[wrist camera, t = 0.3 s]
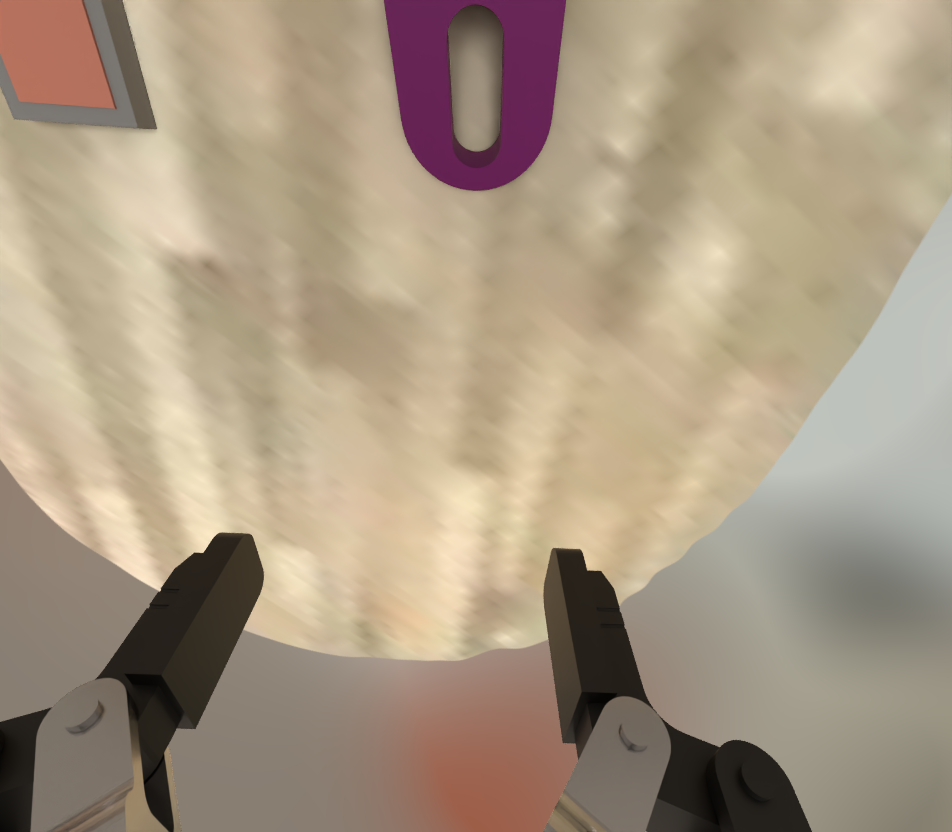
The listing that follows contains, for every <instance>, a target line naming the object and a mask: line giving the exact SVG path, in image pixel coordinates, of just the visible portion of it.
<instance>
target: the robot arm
mask: <svg viewBox="0 0 952 832" xmlns="http://www.w3.org/2000/svg"><path fill="white" fill-rule="evenodd" d="M263 580H264V571H263V567H262V564H261V561H260V558H259V555H258V551H257V548H256V545H255V542H254V539H253V537H252V535H251V534H244V533H218V534H217V535H216V536H215V537H214V538H213V539H212V541H211V542H210V544H209V545H208V547H207V548H206V550H205V551H204V553H193V554H192V555H191V556H190V557H188V558H187V559H186V560H185V561H184V562H182V563H181V564H180V565H179V566H178V567H176V568H175V569H174V570H173V572H172V573H171V575H170V576H169V578H168V579H167V580H166V582H165V583H164V585H163V586H162V587H161V591H160V592H158V593H157V595H156V596H155V597H154V599H153V600H152V602H151V603H150V607H149V608H147V609H146V610H145V612H144V613H143V615H142V616H141V617H140V619H139V620H138V622H137V623H136V624H135V626H134V627H133V629H132V630H131V632H130V633H129V634H128V636H127V637H126V639H125V640H124V642H123V643H122V644H121V646H120V647H119V649H118V650H117V652H116V653H115V654H114V656H113V657H112V659H111V660H110V662H109V663H108V664H107V666H106V667H105V669H104V670H103V671H102V672H101V674H100V675H99V676H98V677H97V678H96V679H95V680H93V681H90V682H87V683H85V684H83V685H81V686H79V687H77V688H75V689H74V690H72V691H71V692H69V693H68V694H66V695H65V696H64V697H63V698H61V699H60V700H59V701H58V702H57V703H56V704H55V705H54V706H53V707H52V708H49V709H45V710H42V711H38V712H35V713H31V714H28V715H24V716H20V717H17V718H13V719H10V720H6V721H2V722H0V832H182V830H181V824H180V817H179V810H178V804H177V797H176V790H175V783H174V776H173V770H172V763H171V756H170V751H169V747H168V744H169V742H170V741H171V739H172V737H173V735H174V733H175V731H176V729H177V728H181V729H196V726H197V725H198V723H199V720H200V718H201V716H202V714H203V712H204V710H205V708H206V706H207V704H208V702H209V699H210V697H211V695H212V693H213V691H214V689H215V687H216V685H217V683H218V681H219V679H220V676H221V674H222V672H223V670H224V668H225V666H226V664H227V662H228V660H229V658H230V655H231V653H232V651H233V649H234V647H235V645H236V643H237V641H238V639H239V637H240V635H241V633H242V631H243V628H244V626H245V624H246V622H247V620H248V618H249V616H250V614H251V612H252V610H253V608H254V605H255V603H256V601H257V599H258V597H259V595H260V593H261V590H262V586H263ZM544 609H545V616H546V624H547V631H548V638H549V646H550V653H551V660H552V668H553V675H554V682H555V689H556V697H557V704H558V711H559V718H560V726H561V733H562V741H563V743H576V748H577V755H578V762H577V764H576V766H575V768H574V771H573V773H572V775H571V777H570V779H569V781H568V783H567V785H566V787H565V789H564V791H563V793H562V795H561V797H560V799H559V801H558V803H557V805H556V807H555V809H554V811H553V813H552V815H551V817H550V819H549V821H548V823H547V825H546V827H545V829H544V831H543V832H645V831H647V832H812V831H811V828H810V826H809V824H808V821H807V819H806V817H805V815H804V812H803V810H802V808H801V805H800V803H799V801H798V798H797V796H796V794H795V791H794V789H793V787H792V785H791V783H790V781H789V779H788V777H787V776H786V774H785V772H784V771H783V770H782V768H781V767H780V766H779V765H778V763H777V762H776V761H775V760H774V759H773V758H772V757H771V756H770V755H768V754H767V753H766V752H765V751H763V750H762V749H760V748H759V747H757V746H755V745H753V744H751V743H748V742H745V741H741V740H732V741H728V742H726V743H724V744H723V745H722V746H721V747H717V746H715V745H712V744H710V743H707V742H705V741H702V740H699V739H697V738H695V737H692V736H690V735H687V734H685V733H682V732H681V731H678V730H677V729H675V728H673V727H672V726H670V725H669V724H668V723H667V722H665V721H664V720H663V719H662V718H661V717H660V716H659V715H658V714H657V712H656V711H655V710H654V709H653V707H652V706H651V704H650V703H649V701H648V699H647V697H646V694H645V692H644V689H643V685H642V682H641V679H640V675H639V672H638V669H637V665H636V662H635V658H634V655H633V652H632V648H631V645H630V641H629V638H628V635H627V632H626V629H625V628H624V621H623V618H622V614H621V612H620V608H619V604H618V601H617V597H616V594H615V591H614V588H613V587H612V585H611V584H610V583H609V581H608V580H607V579H606V577H605V576H604V574H603V573H602V572H601V571H587V568H586V564H585V560H584V556H583V553H582V551H581V550H580V549H563V548H553V549H552V551H551V555H550V560H549V564H548V569H547V573H546V578H545V583H544Z"/></svg>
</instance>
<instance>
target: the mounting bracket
mask: <svg viewBox="0 0 952 832" xmlns="http://www.w3.org/2000/svg"><path fill="white" fill-rule="evenodd" d="M384 4H385V11H386V18H387V25H388V31H389V38H390V45H391V52H392V59H393V66H394V73H395V80H396V87H397V94H398V101H399V107H400V114H401V121H402V126H403V130H404V133H405V137H406V139H407V142H408V144H409V146H410V148H411V150H412V152H413V153H414V155H415V156H416V158H417V159H418V161H419V162H420V163H421V164H422V166H423V167H424V168H425V169H426V170H427V171H428V172H430V173H431V174H432V175H433V176H435V177H436V178H437V179H439V180H440V181H442V182H444V183H446V184H448V185H451V186H453V187H456V188H460V189H465V190H473V191H478V190H489V189H493V188H497V187H500V186H502V185H505V184H507V183H509V182H511V181H512V180H514V179H516V178H517V177H518V176H520V175H521V174H522V173H523V172H524V171H526V170H527V169H528V168H529V167H530V165H531V164H532V163H533V162H534V161H535V159H536V158H537V157H538V155H539V153H540V152H541V150H542V148H543V146H544V144H545V142H546V139H547V136H548V133H549V130H550V126H551V120H552V113H553V105H554V97H555V88H556V80H557V71H558V63H559V55H560V46H561V38H562V29H563V21H564V13H565V4H566V0H384ZM473 4H477V5H483V6H485V7H487V8H489V9H490V10H492V11H493V12H494V13H495V14H496V16H497V17H498V19H499V20H500V22H501V25H502V28H503V54H502V88H501V122H500V133H499V136H498V139H497V140H496V142H495V143H494V144H493V145H492V146H491V147H490V148H489V149H487V150H485V151H481V152H472V151H469V150H467V149H465V148H463V147H462V146H461V145H460V144H459V142H458V141H457V139H456V137H455V135H454V130H453V113H452V95H451V77H450V58H449V40H448V27H449V25H450V22H451V20H452V19H453V17H454V16H455V14H456V13H457V12H458V11H459V10H461V9H462V8H464V7H466V6H469V5H473Z"/></svg>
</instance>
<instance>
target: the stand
mask: <svg viewBox="0 0 952 832" xmlns="http://www.w3.org/2000/svg"><path fill="white" fill-rule="evenodd" d="M0 87H1V89H2V92H3V94H4V96H5V99H6V101H7V104H8V106H9V108H10V111H11V113H12V116H13V118H14V119H17V120H31V121H44V122H58V123H72V124H85V125H99V126H112V127H126V128H142V129H157V128H156V124H155V120H154V117H153V113H152V109H151V106H150V102H149V98H148V95H147V91H146V87H145V84H144V80H143V76H142V73H141V69H140V65H139V62H138V58H137V54H136V51H135V47H134V43H133V40H132V36H131V32H130V29H129V25H128V21H127V17H126V14H125V10H124V6H123V3H122V0H0Z"/></svg>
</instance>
